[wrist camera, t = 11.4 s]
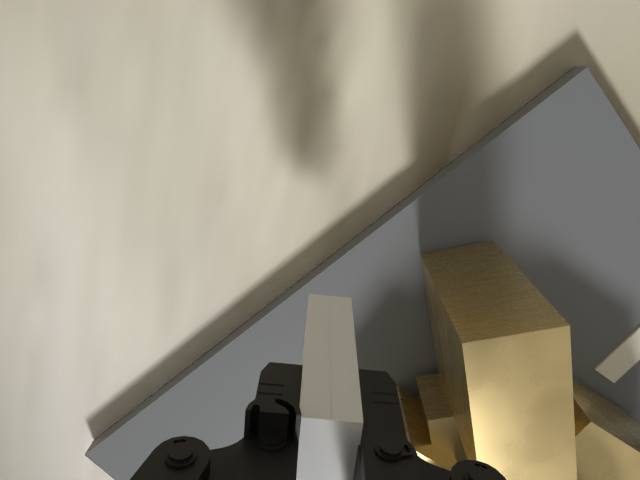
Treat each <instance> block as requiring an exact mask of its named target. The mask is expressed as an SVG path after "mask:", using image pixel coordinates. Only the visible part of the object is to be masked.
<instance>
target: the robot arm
mask: <svg viewBox="0 0 640 480" xmlns="http://www.w3.org/2000/svg"><path fill="white" fill-rule="evenodd" d="M130 480H506V478H505V477H504V476H503V475H502V474H501V473H500V472H499V471H498V470H497V469H495V468H493V467H492V466H490V465H488V464H486V463H483V462H480V461H477V460H463V461H459V462H457V463H456V464H455V465H454V466H453V467H452V468H451V471H450V470H447V469H444V468H441V467H438V466H435V465H433V464H431V463H428V462H426V461H425V460H423V459H422V458H420V457H419V456H418V455H417V452H416V450H415V448H414V446H413V445H412V444H411V443H410V442H409V441H408V440H407V436H406V431H405V426H404V422H403V417H402V412H401V407H400V402H399V397H398V393H397V388H396V383H395V381H394V380H393V379H392V378H391V376H390V375H389V374H388V373H387V372H386V371H376V370H365V369H358V362H357V352H356V341H355V331H354V321H353V310H352V300H351V298H349V297H338V296H327V295H317V294H309V298H308V308H307V318H306V328H305V338H304V348H303V359H302V365H297V364H286V363H275V362H269V363H268V365H267V366H266V367H265V368H264V369H263V370H262V371H261V373H260V378H259V383H258V387H257V393H256V397H255V399H254V400H253V401H252V402H250V403H249V404H248V406H247V408H246V410H245V424H244V437H243V438H242V439H241V440H239V441H238V442H237V443H234V444H232V445H230V446H227V447H223V448H218V449H211V450H209V447H208V446H207V445H206V444H205V443H204V441H202V440H200V439H197V438H195V437H189V436H180V437H173V438H170V439H168V440H166V441H164V442H162V443H161V444H159V445H158V446H157V447H156V448H155V449H154V450H153V451H152V452H151V454H150V455H149V456H148V457H147V459H146V460H145V461H144V462H143V464H142V465H141V466H140V467H139V469H138V470H137V471H136V472H135V474H134V475H133V476H132V477H131V479H130Z"/></svg>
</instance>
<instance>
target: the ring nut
mask: <svg viewBox="0 0 640 480" xmlns="http://www.w3.org/2000/svg"><path fill="white" fill-rule="evenodd" d="M420 256H421V263H422V270H423V277H424V283H425V290H426V297H427V304H428V311H429V317H430V324H431V331H432V338H433V344H434V351H435V358H436V365H437V372H438V373H432V374H426V375H420V376H415V377H416V383H417V389H418V395H419V397H417V396H415V395H414V394H412V393H410V392H409V391H407V390H405V389H404V388H402V387H400V386H399V385H398V386H397V393H398V397H399V402H400V407H401V412H402V417H403V422H404V426H405V431H406V436H407V440H408V441H409V442H410V443H411V444H412V445H413V446H414V448H415V450H416V452H417V455H418V456H419V457H420V458H422V459H423V460H425V461H426V462H428V463H431V464H433V465H435V466H438V467H441V468H444V469H447V470H450V471H451V468H452V467H453V466H454V465H455V464H456V463H457V462H459V461H463V460H477V461H480V462H483V463H486V464H488V465H490V466H492V467H493V468H495V469H497V470H498V471H499V472H500V473H501V474H502V475H503V476H504V477H505V478H506V480H640V426H639V424H638V423H637V422H636V421H635V420H634V419H633V417H632V416H631V415H630V414H629V413H627V412H626V411H624V410H623V409H621V408H619V407H618V406H616V405H615V404H613V403H612V402H610V401H609V400H607V399H605V398H604V397H602V396H601V395H599V394H598V393H596V392H594V391H593V390H591V389H590V388H588V387H587V386H585V385H583V384H582V383H580V382H579V381H577V380H576V379H574V378H573V377H572V358H571V336H570V325H569V324H568V323H567V322H566V320H565V319H564V318H563V317H562V316H561V315H560V314H559V313H558V312H557V310H556V309H555V308H554V307H553V306H552V305H551V304H550V303H549V302H548V300H547V299H546V298H545V297H544V296H543V295H542V294H541V293H540V292H539V290H538V289H537V288H536V287H535V286H534V285H533V284H532V283H531V282H530V281H529V279H528V278H527V277H526V276H525V275H524V274H523V273H522V272H521V271H520V269H519V268H518V267H517V266H516V265H515V264H514V263H513V262H512V261H511V259H510V258H509V257H508V256H507V255H506V254H505V253H504V252H503V251H502V249H501V248H500V247H499V246H498V245H497V244H496V243H495V242H494V241H489V242H484V243H478V244H473V245H467V246H462V247H456V248H451V249H445V250H440V251H434V252H429V253H423V254H420Z"/></svg>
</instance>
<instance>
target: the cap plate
mask: <svg viewBox="0 0 640 480" xmlns="http://www.w3.org/2000/svg"><path fill="white" fill-rule="evenodd" d="M489 241H494V242H495V243H496V244H497V245H498V246H499V247H500V248H501V249H502V251H503V252H504V253H505V254H506V255H507V256H508V257H509V258H510V259H511V261H512V262H513V263H514V264H515V265H516V266H517V267H518V268H519V269H520V271H521V272H522V273H523V274H524V275H525V276H526V277H527V278H528V279H529V281H530V282H531V283H532V284H533V285H534V286H535V287H536V288H537V289H538V290H539V292H540V293H541V294H542V295H543V296H544V297H545V298H546V299H547V300H548V302H549V303H550V304H551V305H552V306H553V307H554V308H555V309H556V310H557V312H558V313H559V314H560V315H561V316H562V317H563V318H564V319H565V320H566V322H567V323H568V324H569V325H570V336H571V358H572V377H573V378H574V379H576V380H577V381H579V382H580V383H582V384H583V385H585V386H587V387H588V388H590V389H591V390H593V391H594V392H596V393H598V394H599V395H601V396H602V397H604V398H605V399H607V400H609V401H610V402H612V403H613V404H615V405H616V406H618V407H619V408H621V409H623V410H624V411H626V412H627V413H629V414H630V415H631V416H632V417H633V419H634V420H635V421H636V422H637V423H638V424H639V426H640V148H639V147H638V145H637V143H636V142H635V140H634V139H633V137H632V136H631V134H630V133H629V131H628V129H627V128H626V126H625V125H624V123H623V122H622V120H621V118H620V117H619V115H618V114H617V112H616V111H615V109H614V108H613V106H612V104H611V103H610V101H609V100H608V98H607V97H606V95H605V94H604V92H603V90H602V89H601V87H600V86H599V84H598V83H597V81H596V79H595V78H594V76H593V75H592V73H591V72H590V70H589V69H588V67H574V68H573V69H571V70H570V71H569V72H567V73H566V74H565V75H564V76H562V77H561V78H560V79H558V80H557V81H556V82H555V83H553V84H552V85H551V86H549V87H548V88H547V89H546V90H544V91H543V92H542V93H540V94H539V95H538V96H537V97H535V98H534V99H533V100H531V101H530V102H529V103H528V104H526V105H525V106H524V107H522V108H521V109H520V110H519V111H517V112H516V113H515V114H513V115H512V116H511V117H510V118H508V119H507V120H506V121H504V122H503V123H502V124H500V125H499V126H498V127H497V128H495V129H494V130H493V131H491V132H490V133H489V134H488V135H486V136H485V137H484V138H482V139H481V140H480V141H479V142H477V143H476V144H475V145H473V146H472V147H471V148H470V149H468V150H467V151H466V152H464V153H463V154H462V155H461V156H459V157H458V158H457V159H455V160H454V161H453V162H452V163H450V164H449V165H448V166H446V167H445V168H444V169H443V170H441V171H440V172H439V173H437V174H436V175H435V176H434V177H432V178H431V179H430V180H428V181H427V182H426V183H425V184H423V185H422V186H421V187H419V188H418V189H417V190H416V191H414V192H413V193H412V194H410V195H409V196H408V197H407V198H405V199H404V200H403V201H401V202H400V203H399V204H398V205H396V206H395V207H394V208H392V209H391V210H390V211H389V212H387V213H386V214H385V215H383V216H382V217H381V218H379V219H378V220H377V221H376V222H374V223H373V224H372V225H370V226H369V227H368V228H367V229H365V230H364V231H363V232H361V233H360V234H359V235H358V236H356V237H355V238H354V239H352V240H351V241H350V242H349V243H347V244H346V245H345V246H343V247H342V248H341V249H340V250H338V251H337V252H336V253H334V254H333V255H332V256H331V257H329V258H328V259H327V260H325V261H324V262H323V263H322V264H320V265H319V266H318V267H316V268H315V269H314V270H313V271H311V272H310V273H309V274H307V275H306V276H305V277H304V278H302V279H301V280H300V281H298V282H297V283H296V284H295V285H293V286H292V287H291V288H289V289H288V290H287V291H286V292H284V293H283V294H282V295H280V296H279V297H278V298H277V299H275V300H274V301H273V302H271V303H270V304H269V305H267V306H266V307H265V308H264V309H262V310H261V311H260V312H258V313H257V314H256V315H255V316H253V317H252V318H251V319H249V320H248V321H247V322H246V323H244V324H243V325H242V326H240V327H239V328H238V329H237V330H235V331H234V332H233V333H231V334H230V335H229V336H228V337H226V338H225V339H224V340H222V341H221V342H220V343H219V344H217V345H216V346H215V347H213V348H212V349H211V350H210V351H208V352H207V353H206V354H204V355H203V356H202V357H201V358H199V359H198V360H197V361H195V362H194V363H193V364H192V365H190V366H189V367H188V368H186V369H185V370H184V371H183V372H181V373H180V374H179V375H177V376H176V377H175V378H174V379H172V380H171V381H170V382H168V383H167V384H166V385H165V386H163V387H162V388H161V389H159V390H158V391H157V392H156V393H154V394H153V395H152V396H150V397H149V398H148V399H146V400H145V401H144V402H143V403H141V404H140V405H139V406H137V407H136V408H135V409H134V410H132V411H131V412H130V413H128V414H127V415H126V416H125V417H123V418H122V419H121V420H119V421H118V422H117V423H116V424H114V425H113V426H112V427H110V428H109V429H108V430H107V431H105V432H104V433H103V434H101V435H100V436H99V437H98V438H96V439H95V440H94V441H93V442H92V444H91V446H90V447H89V449H88V450H87V452H86V454H85V456H87V457H88V458H89V459H90V460H91V461H93V462H94V463H95V464H96V465H98V466H99V467H100V468H101V469H102V470H104V471H105V472H106V473H107V474H109V475H110V476H111V477H112V478H113V479H115V480H130V479H131V477H132V476H133V475H134V474H135V472H136V471H137V470H138V469H139V467H140V466H141V465H142V464H143V462H144V461H145V460H146V459H147V457H148V456H149V455H150V454H151V452H152V451H153V450H154V449H155V448H156V447H157V446H158V445H159V444H161V443H162V442H164V441H166V440H168V439H170V438H173V437H180V436H189V437H195V438H197V439H200V440H202V441H204V443H205V444H206V445H207V446H208V447H209V450H211V449H218V448H223V447H227V446H230V445H232V444H234V443H237V442H238V441H239V440H241V439H242V438H243V437H244V424H245V410H246V408H247V406H248V404H249V403H250V402H252V401H253V400H254V399H255V397H256V393H257V387H258V383H259V378H260V373H261V371H262V370H263V369H264V368H265V367H266V366H267V365H268V363H269V362H275V363H286V364H297V365H302V359H303V348H304V338H305V328H306V318H307V308H308V298H309V294H317V295H327V296H338V297H349V298H351V300H352V310H353V321H354V331H355V341H356V352H357V362H358V369H365V370H376V371H386V372H387V373H388V374H389V375H390V376H391V378H392V379H393V380H394V381H395V383H396V388H397V386H398V385H399V386H400V387H402V388H404V389H405V390H407V391H409V392H410V393H412V394H414V395H415V396H417V397H419V395H418V389H417V383H416V377H415V376H420V375H426V374H432V373H438V372H437V365H436V358H435V351H434V344H433V338H432V331H431V324H430V317H429V311H428V304H427V297H426V290H425V283H424V277H423V270H422V263H421V256H420V254H423V253H429V252H434V251H440V250H445V249H451V248H456V247H462V246H467V245H473V244H478V243H484V242H489Z"/></svg>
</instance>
